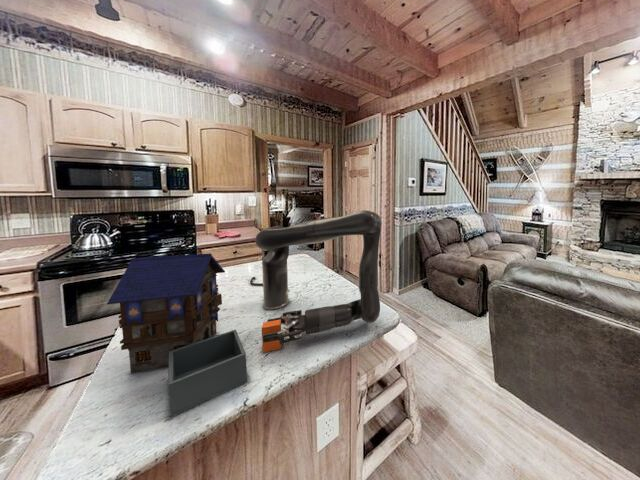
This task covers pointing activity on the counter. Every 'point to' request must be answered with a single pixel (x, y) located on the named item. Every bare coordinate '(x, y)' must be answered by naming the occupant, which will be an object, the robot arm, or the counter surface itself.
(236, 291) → the counter surface
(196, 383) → the bin
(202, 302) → the miniature building
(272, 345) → the block
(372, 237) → the robot arm
